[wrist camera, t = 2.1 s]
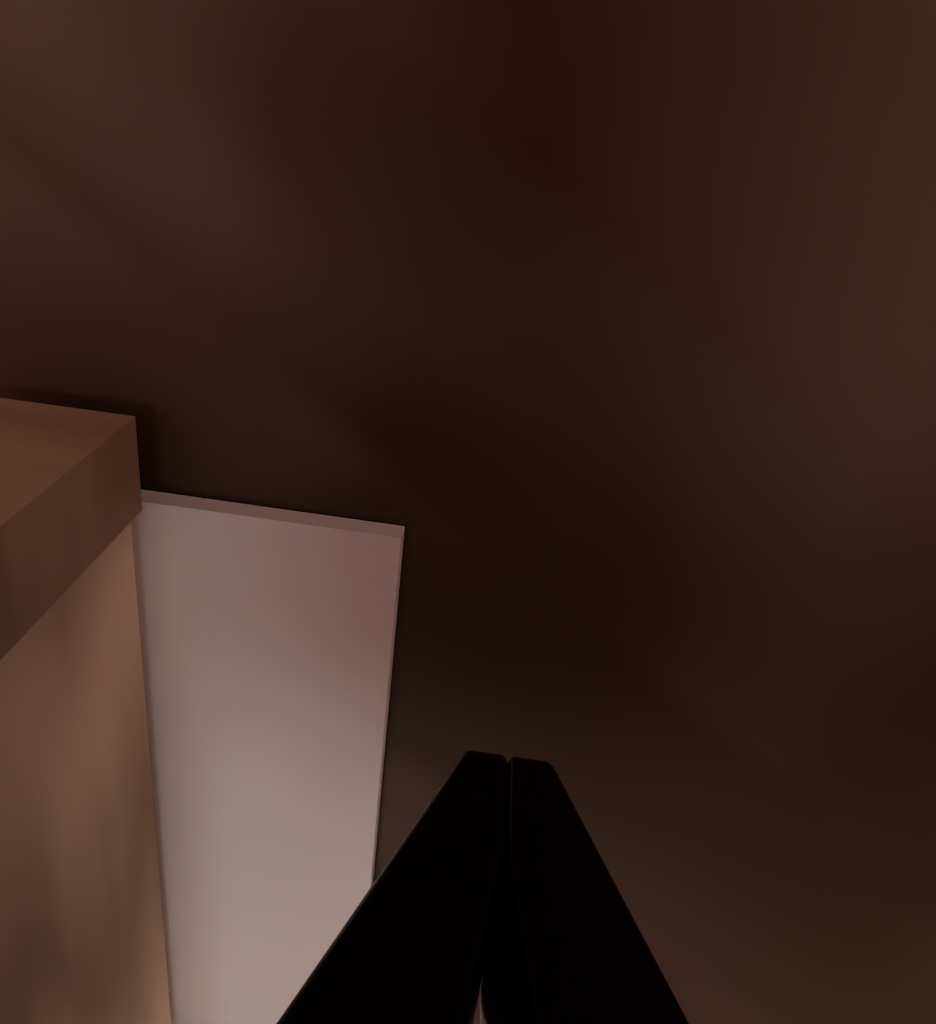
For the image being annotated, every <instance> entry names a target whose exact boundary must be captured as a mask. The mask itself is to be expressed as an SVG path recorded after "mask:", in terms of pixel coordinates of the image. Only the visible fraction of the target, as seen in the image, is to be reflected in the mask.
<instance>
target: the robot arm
mask: <svg viewBox="0 0 936 1024" xmlns="http://www.w3.org/2000/svg"><path fill="white" fill-rule="evenodd" d="M480 984H481V989H480ZM479 989H480V1024H689V1023H688V1021H687V1019H686V1017H685V1015H684V1013H683V1012H682V1010H681V1008H680V1006H679V1004H678V1002H677V1000H676V998H675V996H674V995H673V993H672V991H671V989H670V987H669V985H668V983H667V981H666V979H665V977H664V976H663V974H662V972H661V970H660V968H659V966H658V964H657V962H656V960H655V959H654V957H653V955H652V953H651V951H650V949H649V947H648V945H647V943H646V941H645V940H644V938H643V936H642V934H641V932H640V930H639V928H638V926H637V924H636V923H635V921H634V919H633V917H632V915H631V913H630V911H629V909H628V907H627V905H626V904H625V902H624V900H623V898H622V896H621V894H620V892H619V890H618V888H617V886H616V885H615V883H614V881H613V879H612V877H611V875H610V873H609V871H608V869H607V868H606V866H605V864H604V862H603V860H602V858H601V856H600V854H599V852H598V850H597V849H596V847H595V845H594V843H593V841H592V839H591V837H590V835H589V833H588V832H587V830H586V828H585V826H584V824H583V822H582V820H581V818H580V816H579V814H578V813H577V811H576V809H575V807H574V805H573V803H572V801H571V799H570V797H569V796H568V794H567V792H566V790H565V788H564V786H563V784H562V782H561V780H560V778H559V777H558V775H557V773H556V771H555V769H554V768H553V766H552V765H551V764H550V763H548V762H545V761H539V760H532V759H525V758H518V757H513V758H511V759H510V760H509V761H508V764H507V761H506V758H505V757H504V756H502V755H497V754H491V753H484V752H477V751H467V752H465V753H464V754H463V755H462V756H461V757H460V759H459V760H458V762H457V763H456V765H455V766H454V767H453V769H452V770H451V772H450V773H449V775H448V776H447V778H446V779H445V780H444V782H443V783H442V785H441V786H440V788H439V789H438V791H437V792H436V793H435V795H434V796H433V798H432V799H431V801H430V802H429V804H428V805H427V807H426V808H425V809H424V811H423V812H422V814H421V815H420V817H419V818H418V820H417V821H416V822H415V824H414V825H413V827H412V828H411V830H410V831H409V833H408V834H407V835H406V837H405V838H404V840H403V841H402V843H401V844H400V846H399V847H398V848H397V850H396V851H395V853H394V854H393V856H392V857H391V859H390V860H389V861H388V863H387V864H386V866H385V867H384V869H383V870H382V872H381V873H380V875H379V876H378V877H377V879H376V880H375V882H374V883H373V885H372V886H371V888H370V889H369V890H368V892H367V893H366V895H365V896H364V898H363V899H362V901H361V902H360V903H359V905H358V906H357V908H356V909H355V911H354V912H353V914H352V915H351V916H350V918H349V919H348V921H347V922H346V924H345V925H344V927H343V928H342V929H341V931H340V932H339V934H338V935H337V937H336V938H335V940H334V941H333V942H332V944H331V945H330V947H329V948H328V950H327V951H326V953H325V954H324V956H323V957H322V958H321V960H320V961H319V963H318V964H317V966H316V967H315V969H314V970H313V971H312V973H311V974H310V976H309V977H308V979H307V980H306V982H305V983H304V984H303V986H302V987H301V989H300V990H299V992H298V993H297V995H296V996H295V997H294V999H293V1000H292V1002H291V1003H290V1005H289V1006H288V1008H287V1009H286V1010H285V1012H284V1013H283V1015H282V1016H281V1018H280V1019H279V1021H278V1022H277V1024H473V1021H474V1016H475V1010H476V1005H477V1000H478V995H479Z"/></svg>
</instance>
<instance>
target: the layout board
mask: <svg viewBox="0 0 936 1024" xmlns="http://www.w3.org/2000/svg"><path fill="white" fill-rule="evenodd" d="M141 502H142V511H141V512H140V513H139V514H138V515H137V516H136V517H135V518H134V519H133V520H132V521H131V530H132V542H133V555H134V567H135V579H136V592H137V604H138V616H139V629H140V641H141V654H142V666H143V678H144V691H145V703H146V716H147V728H148V740H149V753H150V765H151V778H152V790H153V802H154V815H155V827H156V839H157V852H158V864H159V877H160V889H161V901H162V914H163V926H164V939H165V951H166V963H167V976H168V988H169V1000H170V1013H171V1024H277V1022H278V1021H279V1019H280V1018H281V1016H282V1015H283V1013H284V1012H285V1010H286V1009H287V1008H288V1006H289V1005H290V1003H291V1002H292V1000H293V999H294V997H295V996H296V995H297V993H298V992H299V990H300V989H301V987H302V986H303V984H304V983H305V982H306V980H307V979H308V977H309V976H310V974H311V973H312V971H313V970H314V969H315V967H316V966H317V964H318V963H319V961H320V960H321V958H322V957H323V956H324V954H325V953H326V951H327V950H328V948H329V947H330V945H331V944H332V942H333V941H334V940H335V938H336V937H337V935H338V934H339V932H340V931H341V929H342V928H343V927H344V925H345V924H346V922H347V921H348V919H349V918H350V916H351V915H352V914H353V912H354V911H355V909H356V908H357V906H358V905H359V903H360V902H361V901H362V899H363V898H364V896H365V895H366V893H367V892H368V890H369V889H370V888H371V886H372V885H373V878H374V867H375V855H376V844H377V833H378V822H379V810H380V799H381V788H382V777H383V766H384V754H385V743H386V732H387V721H388V709H389V698H390V687H391V676H392V664H393V653H394V642H395V631H396V619H397V608H398V597H399V586H400V574H401V563H402V552H403V541H404V530H405V526H399V525H392V524H385V523H378V522H370V521H363V520H356V519H349V518H342V517H335V516H328V515H320V514H313V513H306V512H299V511H292V510H285V509H278V508H270V507H263V506H256V505H249V504H242V503H235V502H227V501H220V500H213V499H206V498H199V497H192V496H185V495H177V494H170V493H163V492H156V491H149V490H142V489H141Z"/></svg>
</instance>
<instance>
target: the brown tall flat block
mask: <svg viewBox="0 0 936 1024" xmlns="http://www.w3.org/2000/svg"><path fill="white" fill-rule="evenodd" d="M141 511H142V502H141V488H140V475H139V461H138V447H137V434H136V420H135V416H129V415H122V414H115V413H107V412H100V411H93V410H86V409H78V408H71V407H64V406H57V405H49V404H42V403H35V402H27V401H20V400H13V399H6V398H0V1024H171V1013H170V1000H169V988H168V976H167V963H166V951H165V939H164V926H163V914H162V901H161V889H160V877H159V864H158V852H157V839H156V827H155V815H154V802H153V790H152V778H151V765H150V753H149V740H148V728H147V716H146V703H145V691H144V678H143V666H142V654H141V641H140V629H139V616H138V604H137V592H136V579H135V567H134V555H133V542H132V530H131V521H132V520H133V519H134V518H135V517H136V516H137V515H138V514H139V513H140V512H141Z"/></svg>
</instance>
